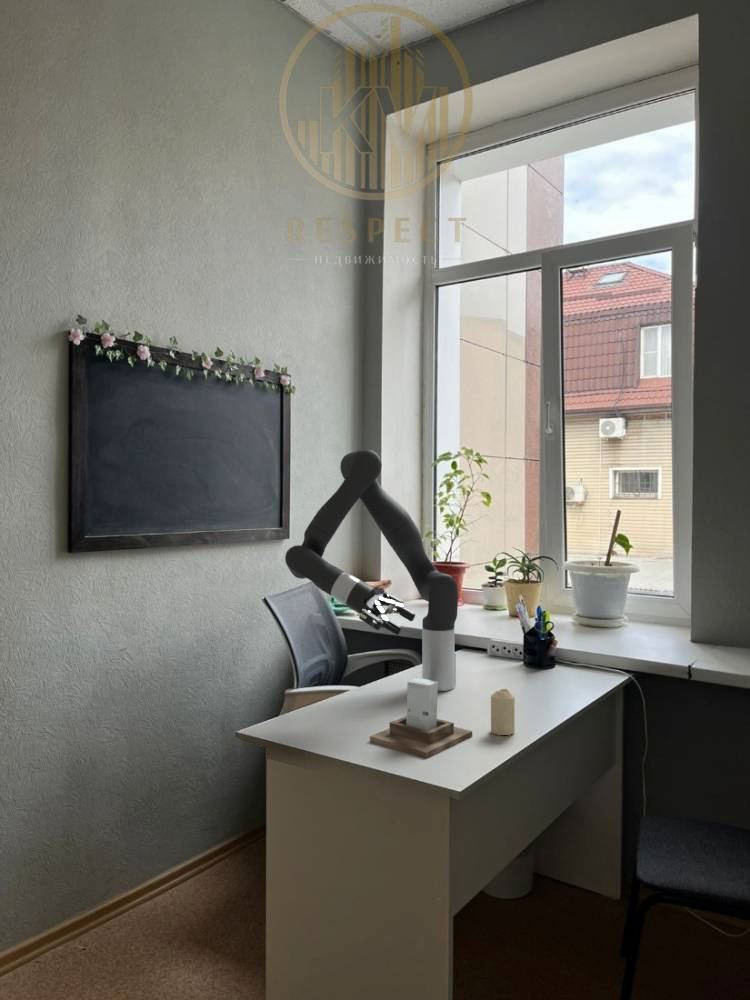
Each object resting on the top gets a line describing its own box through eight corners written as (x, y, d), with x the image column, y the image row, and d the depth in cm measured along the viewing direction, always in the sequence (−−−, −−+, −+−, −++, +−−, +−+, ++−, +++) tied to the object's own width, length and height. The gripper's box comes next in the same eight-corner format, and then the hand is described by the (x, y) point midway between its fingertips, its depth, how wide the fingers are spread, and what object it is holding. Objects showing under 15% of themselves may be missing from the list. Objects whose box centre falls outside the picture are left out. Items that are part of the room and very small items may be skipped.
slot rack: (417, 722, 181) (417, 707, 181) (472, 736, 171) (472, 720, 171) (369, 741, 168) (369, 725, 168) (426, 758, 157) (426, 740, 157)
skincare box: (405, 733, 170) (405, 681, 169) (415, 728, 173) (415, 676, 173) (428, 738, 166) (428, 685, 166) (438, 733, 170) (438, 680, 170)
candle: (498, 726, 178) (498, 685, 178) (518, 731, 174) (518, 689, 174) (486, 732, 174) (486, 690, 173) (507, 737, 170) (507, 694, 170)
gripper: (344, 590, 180) (400, 623, 175) (369, 571, 192) (423, 602, 188) (335, 614, 183) (390, 648, 178) (361, 594, 195) (413, 625, 191)
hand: (407, 624), depth 183 cm, fingers open, 8 cm apart
